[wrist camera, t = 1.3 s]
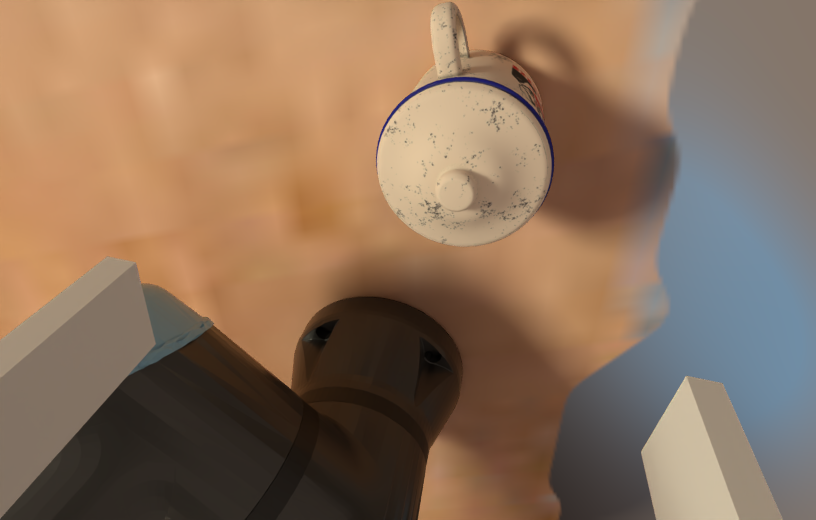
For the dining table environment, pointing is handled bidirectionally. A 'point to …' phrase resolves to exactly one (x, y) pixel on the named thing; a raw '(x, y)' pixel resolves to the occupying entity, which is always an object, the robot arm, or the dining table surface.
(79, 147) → the dining table surface
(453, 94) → the teacup with lid
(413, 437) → the robot arm
